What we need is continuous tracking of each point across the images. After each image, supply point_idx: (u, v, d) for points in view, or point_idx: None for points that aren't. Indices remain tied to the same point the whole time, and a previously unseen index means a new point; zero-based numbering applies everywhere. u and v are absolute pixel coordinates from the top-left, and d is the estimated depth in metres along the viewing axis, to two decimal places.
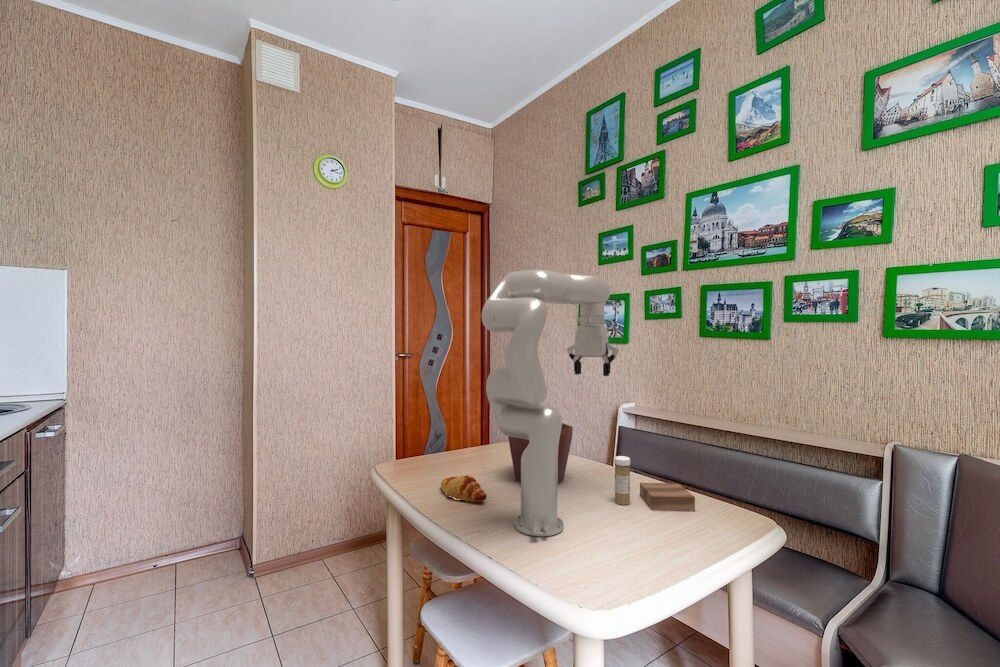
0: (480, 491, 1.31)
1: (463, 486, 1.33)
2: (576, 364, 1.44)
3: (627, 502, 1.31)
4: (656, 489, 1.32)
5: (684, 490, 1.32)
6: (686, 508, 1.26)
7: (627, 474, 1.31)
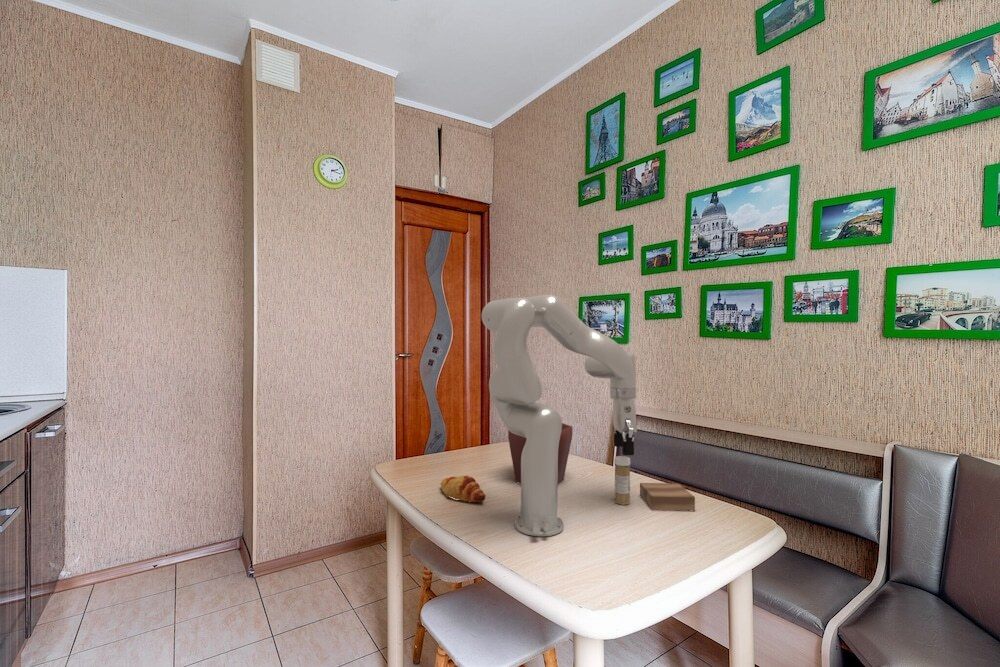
0: (479, 491, 1.31)
1: (462, 486, 1.33)
2: None
3: (627, 502, 1.31)
4: (656, 489, 1.32)
5: (684, 490, 1.32)
6: (686, 508, 1.26)
7: (627, 474, 1.31)
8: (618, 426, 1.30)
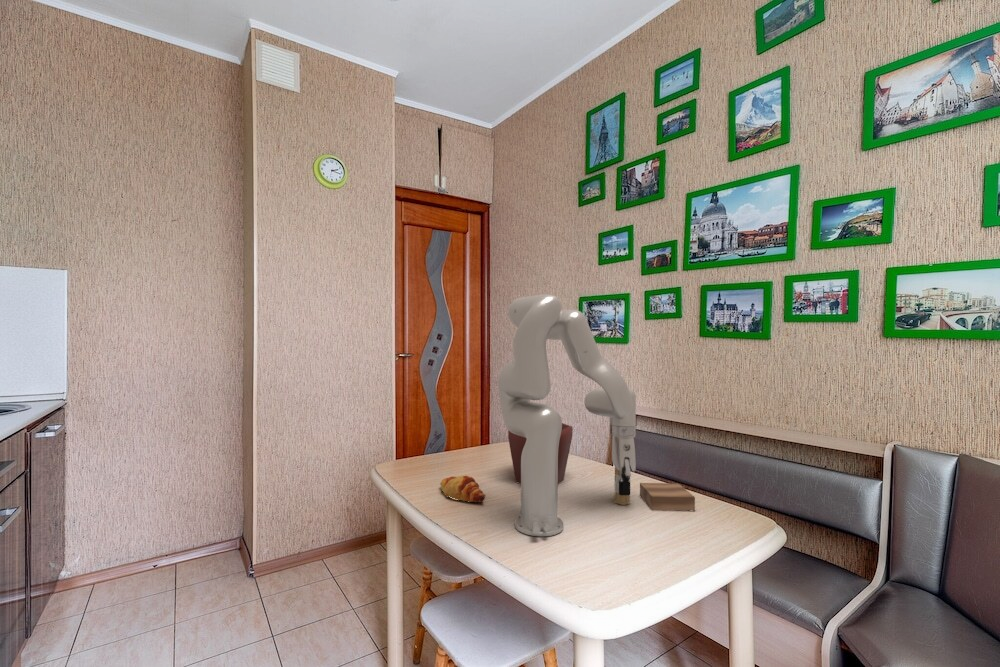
0: (478, 491, 1.31)
1: (461, 486, 1.33)
2: None
3: (627, 502, 1.31)
4: (656, 489, 1.32)
5: (684, 490, 1.32)
6: (686, 508, 1.26)
7: None
8: (617, 464, 1.30)
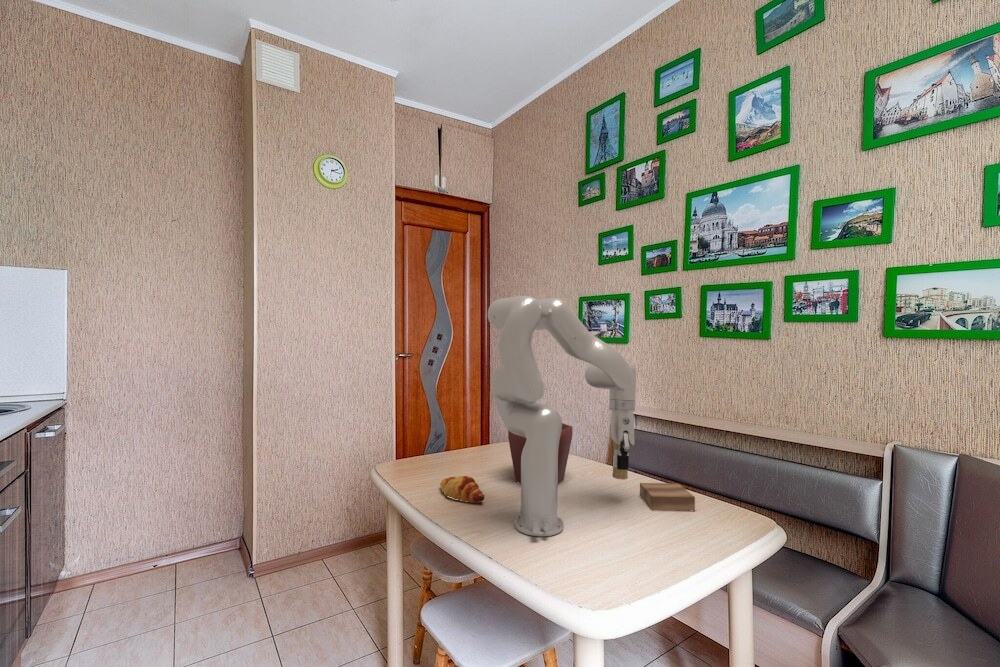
0: (478, 492, 1.31)
1: (461, 486, 1.33)
2: None
3: (625, 477, 1.30)
4: (656, 489, 1.32)
5: (684, 490, 1.32)
6: (686, 508, 1.26)
7: None
8: (616, 438, 1.30)
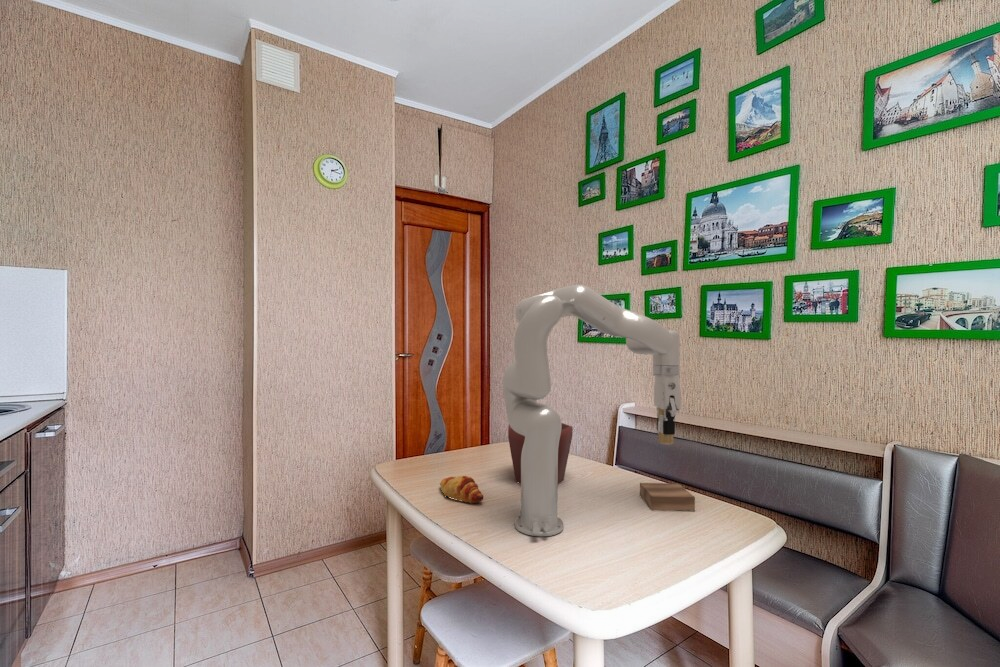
0: (477, 492, 1.31)
1: (460, 486, 1.33)
2: None
3: (671, 442, 1.31)
4: (656, 489, 1.32)
5: (684, 490, 1.32)
6: (686, 508, 1.26)
7: None
8: (661, 403, 1.30)
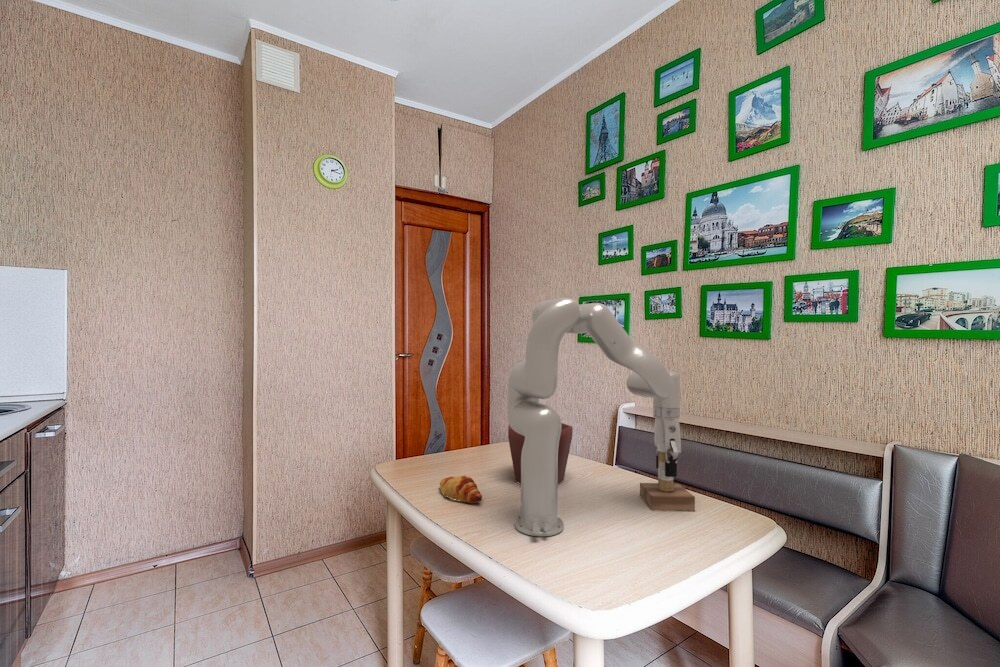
0: (476, 492, 1.31)
1: (459, 486, 1.32)
2: None
3: (671, 489, 1.30)
4: (656, 489, 1.32)
5: (684, 490, 1.32)
6: (686, 508, 1.26)
7: None
8: (662, 446, 1.30)
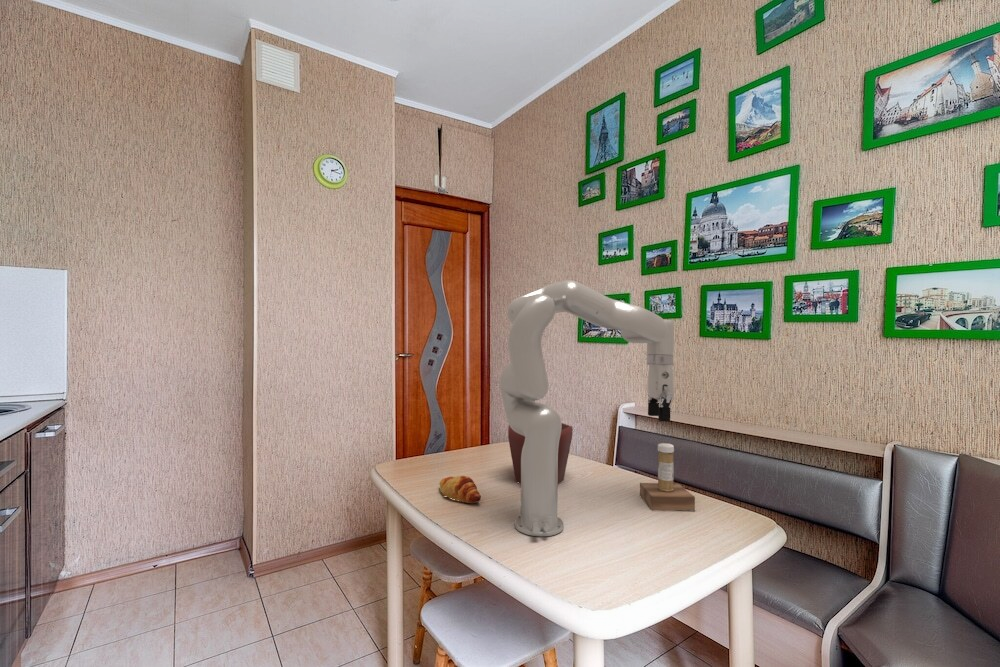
0: (475, 492, 1.31)
1: (458, 486, 1.32)
2: None
3: (671, 489, 1.30)
4: (656, 489, 1.32)
5: (684, 490, 1.32)
6: (686, 508, 1.26)
7: (671, 461, 1.30)
8: (654, 392, 1.30)
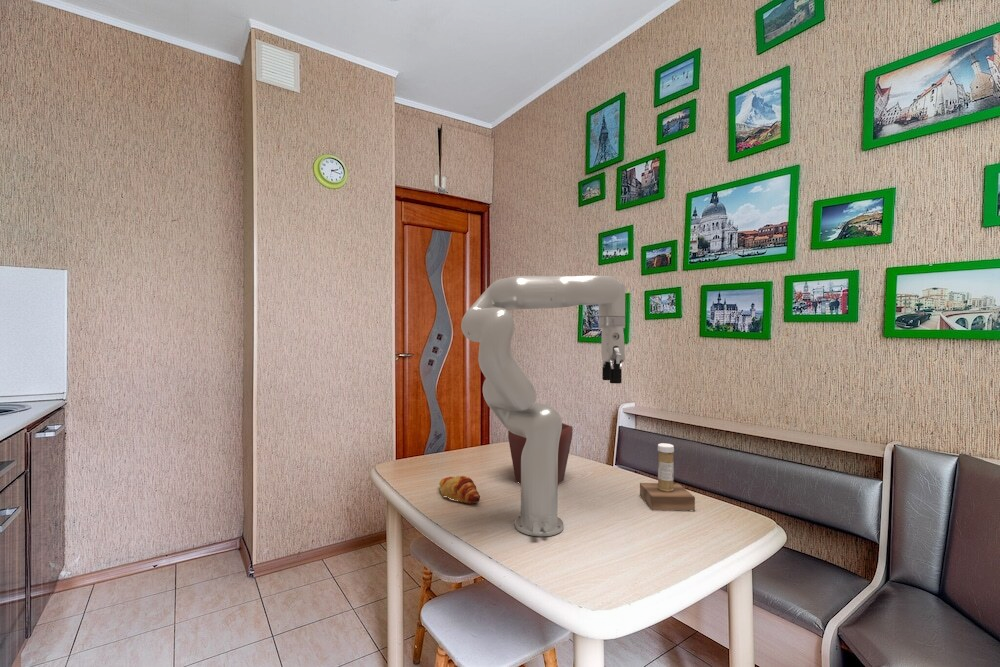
0: (474, 492, 1.30)
1: (457, 486, 1.32)
2: None
3: (671, 489, 1.30)
4: (656, 489, 1.32)
5: (684, 490, 1.32)
6: (686, 508, 1.26)
7: (671, 461, 1.30)
8: (606, 355, 1.27)
